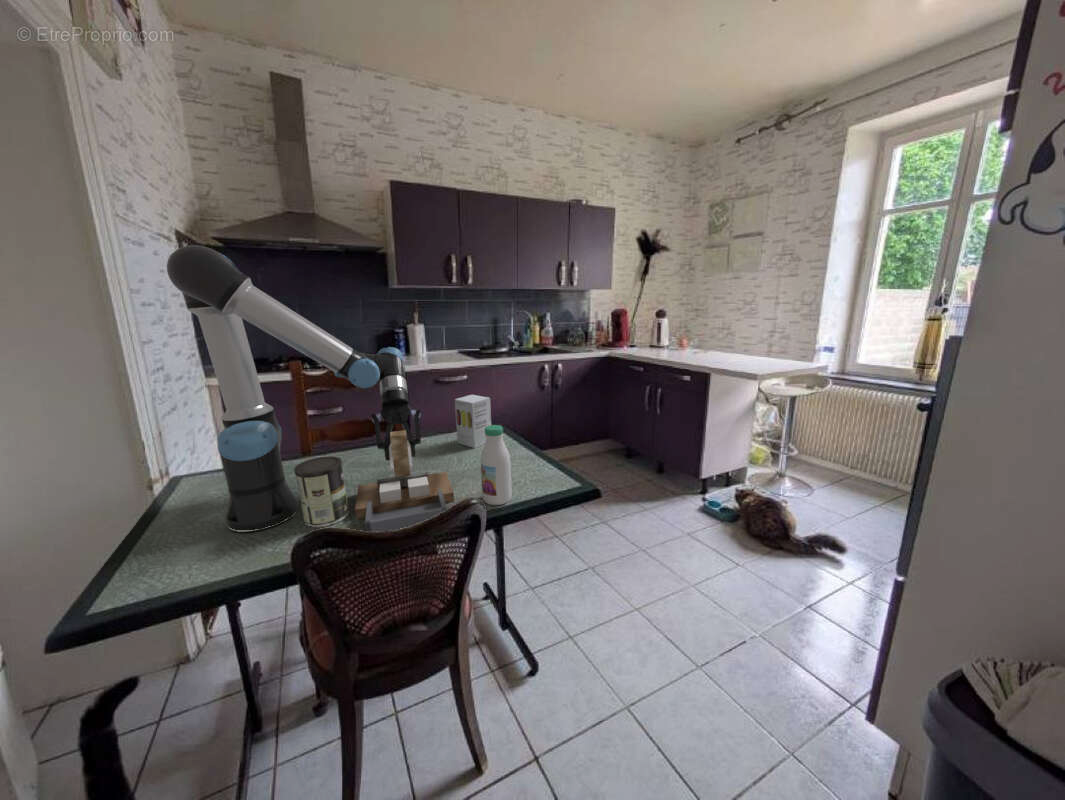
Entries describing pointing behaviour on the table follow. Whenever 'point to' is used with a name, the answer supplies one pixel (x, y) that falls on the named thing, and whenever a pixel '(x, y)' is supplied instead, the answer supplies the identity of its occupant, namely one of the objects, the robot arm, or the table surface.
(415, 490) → the tile right
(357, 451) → the table surface
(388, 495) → the tile left
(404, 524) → the tray
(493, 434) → the milk bottle
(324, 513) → the coffee can
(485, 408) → the supplement box
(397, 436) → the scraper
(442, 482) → the flat wooden board
